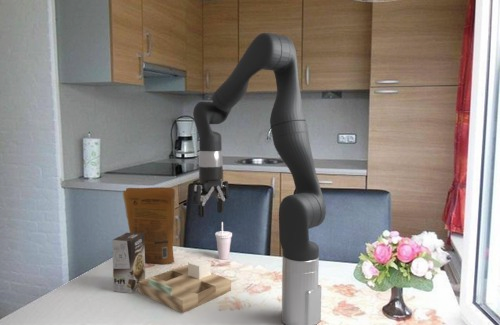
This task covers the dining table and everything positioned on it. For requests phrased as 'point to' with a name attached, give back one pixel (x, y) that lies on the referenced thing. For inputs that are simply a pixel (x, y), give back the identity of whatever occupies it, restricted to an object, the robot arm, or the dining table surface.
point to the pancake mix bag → (152, 220)
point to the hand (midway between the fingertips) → (211, 214)
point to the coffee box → (128, 262)
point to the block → (199, 268)
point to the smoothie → (223, 243)
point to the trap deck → (183, 288)
